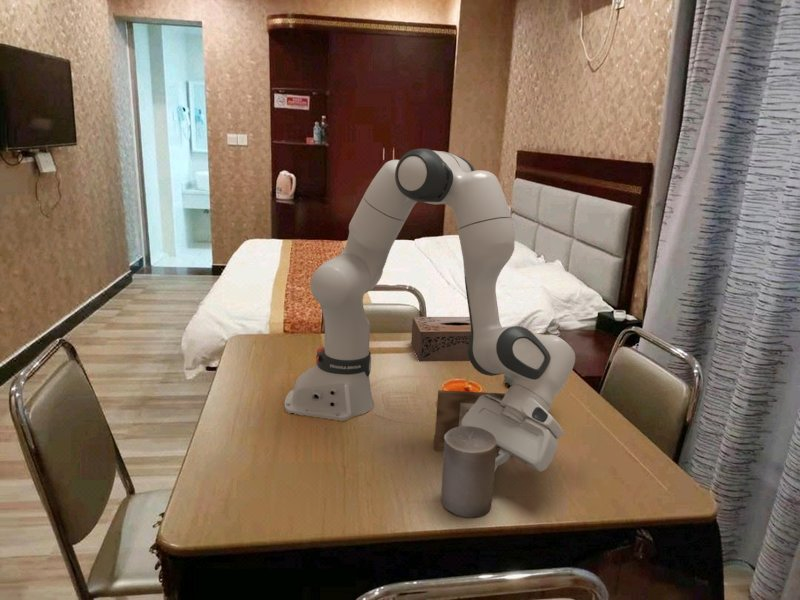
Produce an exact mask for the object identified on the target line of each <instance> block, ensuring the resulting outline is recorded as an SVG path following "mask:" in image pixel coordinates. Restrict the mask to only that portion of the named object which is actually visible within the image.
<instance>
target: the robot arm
mask: <svg viewBox="0 0 800 600" xmlns="http://www.w3.org/2000/svg"><path fill="white" fill-rule="evenodd" d="M418 202H419V203H426V204H430V205H448V206H449V207H450V208H451V210H452V213H453V215H454V219H455V223H456V229H457V234H458V238H459V243H460V248H461V249H460V250H461V255H462V261H463V272H464V284H465V293H466V301H467V307H468V308H467V309H468V315H469V316H468V317H470V324H471V334H470V340H469V346H468V355H469V359H470V361H469V362H470V363H471V365H472V366H473V368H474V370H476V371H477V372H479V373H480V374H482V375H485V376H490V377H492V376H500V375H505V374H508V375H509V376H511V377H512V378H513V383H512V385H509V386H510V387H509V388H508V390H507V391H506V393H504V394H505V396H504V397H503V399H500V398H498V397H495V396H494V395H492V394H485V395H481V396H480V397H479V398H478V400H477V401H476V403H475V404H474V405H473V406H472V407H471V408H470V409H469V411H468V412H467V413H466V414H465V416H464V417H463V419H462V426H473V427H478V428H482V429H484V430H486V431H488V432H490V433H492V434H493V435H494V437H495V438H496V442H497V443H496V448H498V449H499V450H500V451H499V454H498V456H496V458H495V470H494V473H495V471H496V470H497V468H498V467H499V466H501V465H502V464H504V463H506V462H508V461H509V460H510V457H512V458H514V459H515V460H518V461H520V462H522V463H523V464H525V465H527V466H528V467H530V468H532V469H534V470H535V471H537V472H539V473H541V472H543V471H545V470H547V469H548V467H549V466H550V465H551V462H552V460H553V459H554V457H555V455H556V452H557V449H558V446H559V442H558V440H559V439H561V438H562V437H563V434H564V430H563V429H562V427H561V425H560V424H559V423H558V421H557V420H556V419H555V418H554V416H552V415H551V414H550V412H549V411H550V410H551V408H552V405H553V401H554V399H555V397H556V396H558V394H559V393H560V392H561V391H562V389H563V388H564V386H565V385H566V383H567V381H568V379H569V377H570V375H571V373H572V371H573V369H574V366H575V363H576V353H575V351H574V349H573V347H572V346H571V345H570V344H569V343H568V342H567V341H566V340H564V339H563V338H561V337H560V336H558V335H555V334H541V333H537V332H534V331H532V330H529V329H528V328H526V327H522V326H519V325H513V326H510V325H509V326H504V327H503V326H502V325H501V321H500V315H499V314H500V313H499V308H498V307H499V306H498V300H497V293H496V287H497V280H498V278H499V276H500V274H501V272H502V270H503V268H504V267H506V265H507V263H508V262H509V261H510V260H511V258H512V256H513V254H514V251H515V243H516V241H515V230H514V226H513V225H514V224H513V220H512V216H511V213H510V207H509V204H508V202H507V199H506V195H505V193H504V191H503V188H502V185H501V182H500V181H499V178H498V177H497V176H496V174H494V173H492V172H491V171H488V170H482V169H480V170H476V168H475V167H474V166H473V165H472V163H471V162H470V161H468V160H467V159H465V158H464V157H462V156H459V155H455V154H453V153H450V152H447V151H440V150H432V149H429V148H416V149H412V150H409V151H407V152H406V153H404V154H403V155H402V156H401V157H400V159H391V160H388V161H386V162H385V163H384V164H383V165H382V167H381V168H380V169H379V171H378V172H377V173H376V175H375V176H374V177H373V179H372V180H371V182H370V184H369V186H368V187H367V188H366V190H365V193H364V194H363V197H362V198H361V200H360V202H359V204H358V207H357V208H356V211H355V212H354V214H353V216H352V218H351V220H350V222H349V224H348V230H349V231H348V237H347V240H346V244H345V246H344V248H343V250H342V251H341V253H339V255H337V256H335V257H333V258H330V259H328V260H326V261H324V262H322V264H321V265H320V266H319V267H318V268H317V269H316V270H315V271H314V272H313V274H312V276H311V278H310V281H309V283H310V284H309V287H310V288H309V289H310V291H311V294H312V296H313V298H314V299H315V300H316V301H317V303H318V304H319V306H320V308H321V313H322V317H323V324H324V346H318V348H317V349H316V355H315V356H316V358H315V359H316V360H315V361H316V362H315V363H316V364H314V365H313V366H311V367H309V368H308V369H307V370H305V371H304V372H302V373H300V375H299V376H298V378H297V379H296V382H295V384H294V387H293V389H291V390H290V391H289V392H288V394H287V395H286V397H285V399H284V403H283V408H285V409H284V411H285V410H286V411H287V412H288V413H287V412H286V411H285V412H286V413H287V414H290V413H294V414H293V415H296V414H300V415H299V416H303V415H306V416H305V417H310V416H315V417H314V418H317V417H320V418H319V419H323V418H328V419H327V420H330V419H336V420H335V421H337V420H341V421H340V422H345V421H344V420H346V421H348V420H350V419H351V418H353V417H356V416H360V414H361V415H364V414H365V413H368V412H370V411H371V410H372V409H373V408H374V406H375V405H374V404H375V402H374V399H373V395H372V392H371V391H372V390H371V382H370V374H371V371H372V370H371V369H372V357H371V355H372V353H371V351H370V337H371V336H370V335H371V334H370V333H371V324H370V320H369V319H368V317H366V316H367V315H366V313H365V308H364V301H363V300H364V295H365V294H367V293H369V292H370V291H372V290H373V289H374V288H375V287H376V286H377V285H378V283H379V281H380V280H381V278H382V276H383V272H384V268H385V265H386V263H387V260H388V257H389V254H390V252H391V249H392V247H393V245H394V244H395V241H396V240H397V238H398V236H399V233H400V232H401V230H402V228H403V226H404V224H405V222H406V221H407V219H408V217H409V215H410V213H411V211H412V209H413V208H414V206H415V205H416V204H417V203H418ZM485 396H487V397H485ZM307 415H308V416H307ZM321 417H322V418H321ZM349 418H350V419H349ZM347 419H348V420H347Z"/></svg>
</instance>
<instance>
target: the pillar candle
mask: <svg viewBox="0 0 800 600" xmlns="http://www.w3.org/2000/svg"><path fill="white" fill-rule="evenodd" d="M444 436H445V437H444V439H445V443H444V451H443V461H442V462H443V463H442V475H441V477H442V478H441V496H440V499H441V500H440V501H441V505H442V507H443V508H444V509H445V510H447V511H449V512H450V513H452V514H454V515H456V516H458V517H460V518H462V517H463V518H468V519H469V518H477V517H481V516H483V515H486V514H487V513H488V512H489V511H490V510H491V507H492V502H493V494H494V492H493V491H494V484H495V483H494V481H495V480H494V479H495V472H494V470H495V458H496V457H497V454H496V443H497V442H496V438H495V437H494V435H493V434H492V433H490V432H488V431H486V430H484V429H482V428H478V427H473V426H461V427H456V428H453V429H451V430H449V431H448V432H447V433H446V434H445V435H444ZM495 471H496V470H495Z"/></svg>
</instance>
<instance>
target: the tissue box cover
mask: <svg viewBox="0 0 800 600" xmlns="http://www.w3.org/2000/svg"><path fill="white" fill-rule="evenodd" d="M411 327H412V328H411V342H410V343H411V344H412V345H411V347H413V348H412V350H413V349H414V350H413V352H414V351H415V352H414V354H415V353H416V354H415V356H416V355H417V357H416V359H417V358H418V359H417V361H418V360H419V361H418V362H470V359H469V355H468V346H469V340H470V334H471V324H470V316H412V325H411Z"/></svg>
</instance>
